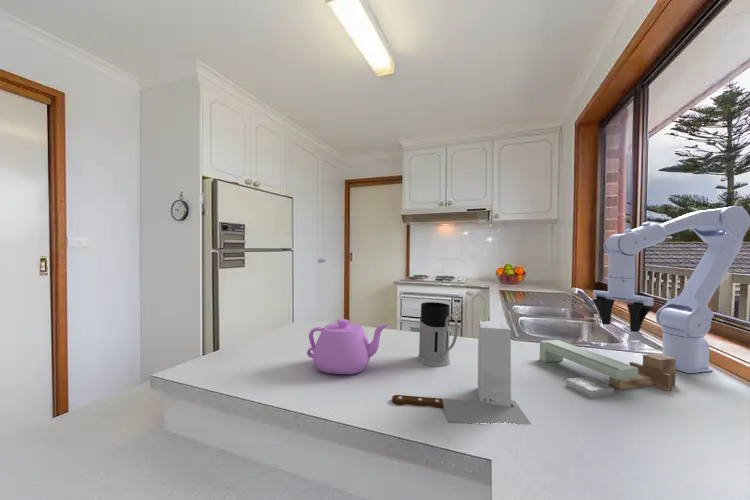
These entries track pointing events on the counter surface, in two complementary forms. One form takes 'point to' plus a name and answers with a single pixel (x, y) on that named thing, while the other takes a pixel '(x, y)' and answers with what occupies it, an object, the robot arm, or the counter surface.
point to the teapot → (343, 347)
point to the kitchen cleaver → (468, 410)
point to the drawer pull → (585, 359)
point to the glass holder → (435, 334)
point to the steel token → (590, 387)
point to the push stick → (650, 373)
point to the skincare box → (494, 363)
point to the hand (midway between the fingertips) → (619, 327)
